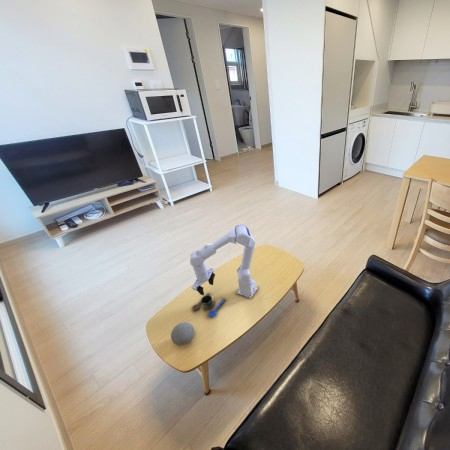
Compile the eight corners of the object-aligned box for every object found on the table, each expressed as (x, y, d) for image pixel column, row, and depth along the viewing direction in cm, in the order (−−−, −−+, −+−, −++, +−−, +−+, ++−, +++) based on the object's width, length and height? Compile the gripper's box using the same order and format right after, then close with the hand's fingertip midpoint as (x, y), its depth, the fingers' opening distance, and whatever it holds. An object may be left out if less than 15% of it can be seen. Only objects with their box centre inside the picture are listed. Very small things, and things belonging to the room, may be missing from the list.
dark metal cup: (216, 303, 133) (213, 297, 130) (209, 311, 129) (207, 304, 126) (208, 300, 135) (205, 294, 131) (201, 308, 130) (198, 301, 127)
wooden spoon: (206, 293, 139) (205, 292, 138) (211, 295, 138) (210, 294, 137) (191, 309, 130) (190, 308, 129) (196, 311, 128) (196, 310, 128)
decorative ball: (174, 353, 110) (167, 341, 104) (174, 334, 118) (168, 322, 112) (197, 344, 113) (191, 332, 108) (195, 327, 121) (190, 315, 115)
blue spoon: (221, 299, 135) (221, 298, 135) (226, 300, 134) (226, 300, 134) (207, 316, 126) (207, 315, 126) (213, 318, 125) (212, 317, 125)
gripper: (204, 260, 129) (209, 278, 137) (184, 279, 118) (191, 297, 126) (214, 263, 127) (219, 281, 135) (195, 283, 116) (202, 301, 124)
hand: (207, 289), depth 130 cm, fingers open, 7 cm apart
